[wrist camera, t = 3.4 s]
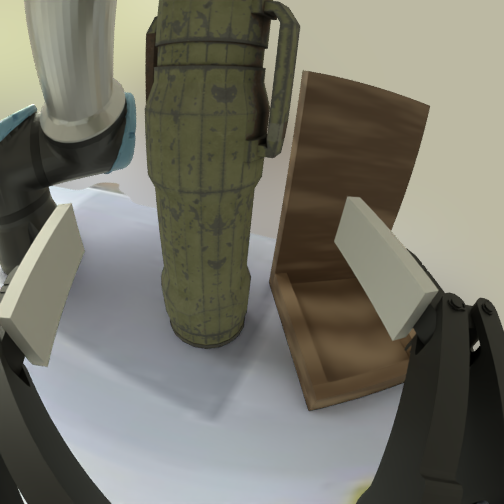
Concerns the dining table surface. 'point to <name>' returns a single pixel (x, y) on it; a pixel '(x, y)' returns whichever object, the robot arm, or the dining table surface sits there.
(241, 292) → the thermos
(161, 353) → the dining table surface
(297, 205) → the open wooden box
